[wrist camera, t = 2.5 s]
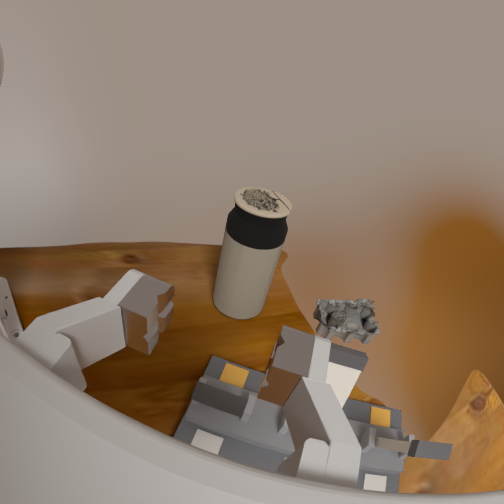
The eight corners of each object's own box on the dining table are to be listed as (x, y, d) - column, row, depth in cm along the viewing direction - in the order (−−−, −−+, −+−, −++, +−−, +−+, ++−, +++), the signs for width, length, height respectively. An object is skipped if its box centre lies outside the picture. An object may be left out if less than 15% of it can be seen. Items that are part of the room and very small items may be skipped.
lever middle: (325, 440, 30) (368, 359, 28) (289, 431, 30) (329, 347, 29) (324, 432, 31) (365, 352, 30) (290, 423, 32) (328, 341, 30)
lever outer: (397, 452, 30) (448, 459, 20) (368, 447, 30) (414, 457, 21) (400, 440, 30) (452, 444, 21) (372, 435, 31) (419, 440, 21)
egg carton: (366, 316, 54) (376, 299, 51) (374, 348, 48) (386, 332, 45) (310, 306, 53) (319, 288, 51) (314, 340, 47) (324, 323, 44)
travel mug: (217, 322, 46) (240, 214, 36) (208, 284, 52) (226, 183, 42) (268, 319, 48) (304, 218, 38) (255, 284, 54) (282, 188, 44)
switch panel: (390, 505, 26) (414, 495, 23) (168, 451, 29) (167, 437, 26) (395, 415, 37) (415, 397, 34) (211, 361, 40) (216, 338, 37)
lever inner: (239, 413, 32) (241, 417, 22) (203, 400, 32) (190, 398, 23) (244, 400, 33) (248, 399, 23) (208, 387, 33) (197, 380, 23)
